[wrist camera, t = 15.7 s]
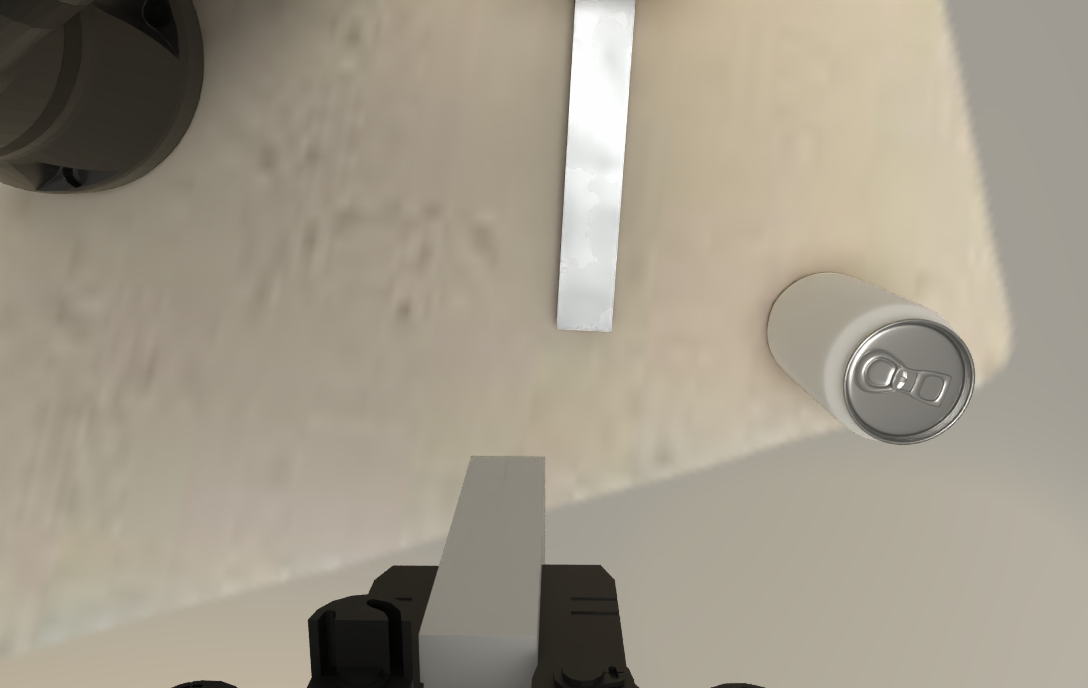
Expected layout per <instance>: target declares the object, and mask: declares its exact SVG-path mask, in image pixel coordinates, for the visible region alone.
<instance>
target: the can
mask: <svg viewBox="0 0 1088 688" xmlns="http://www.w3.org/2000/svg"><path fill="white" fill-rule="evenodd" d="M767 338H768V344H769V347H770V350H771V353H772V355H773V357H774V358H775V360H776V362H777V363H778V364H779V366H780V367H781V368H782V369H783V370H784V371H785V372H786V373H787V374H788V375H789V376H790V377H791V378H792V379H793V380H794V381H795V382H796V383H797V384H799V385H800V386H801V387H802V388H803V389H804V390H805V391H806V392H807V393H808V394H809V395H810V396H811V397H812V398H813V399H815V400H816V401H817V402H818V403H819V404H820V405H821V406H822V407H823V408H824V409H825V410H826V411H828V412H829V413H830V414H831V415H832V416H833V417H834V418H835V419H836V420H838V421H839V422H840V423H841V424H842V425H844V426H845V427H846V428H848V429H849V430H851V431H853V432H854V433H856V434H858V435H860V436H862V437H865V438H868V439H872V440H876V441H883V442H886V443H890V444H897V445H910V444H916V443H921V442H924V441H927V440H930V439H932V438H934V437H936V436H938V435H940V434H942V433H943V432H945V431H946V430H947V429H949V428H950V427H951V426H952V425H953V424H954V423H955V422H956V421H957V420H958V419H959V418H960V416H961V415H962V414H963V413H964V411H965V409H966V408H967V406H968V404H969V402H970V399H971V397H972V393H973V389H974V384H975V369H974V363H973V359H972V356H971V354H970V352H969V350H968V348H967V346H966V345H965V343H964V342H963V340H962V339H961V338H960V337H959V335H958V333H957V332H956V330H955V329H954V328H953V327H952V325H951V324H950V323H949V322H948V321H947V320H945V319H944V318H943V317H942V316H940V315H939V314H937V313H936V312H934V311H932V310H931V309H929V308H926V307H924V306H922V305H920V304H918V303H915V302H913V301H910V300H908V299H906V298H903V297H901V296H898V295H896V294H893V293H891V292H889V291H886V290H884V289H881V288H879V287H876V286H874V285H871V284H869V283H866V282H863V281H861V280H858V279H856V278H853V277H850V276H847V275H844V274H839V273H831V272H825V273H817V274H813V275H809V276H806V277H804V278H802V279H800V280H798V281H796V282H795V283H793V284H792V285H791V286H789V287H788V288H787V289H786V290H785V291H784V292H783V293H782V294H781V295H780V296H779V297H778V299H777V300H776V302H775V303H774V305H773V308H772V310H771V313H770V317H769V321H768V329H767Z"/></svg>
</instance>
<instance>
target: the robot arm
mask: <svg viewBox="0 0 1088 688" xmlns="http://www.w3.org/2000/svg"><path fill="white" fill-rule="evenodd" d="M202 78H203V46H202V38H201V32H200V28H199V23H198V19H197V16H196V12H195V9H194V7H193V4H192V1H191V0H0V182H2V183H4V184H7V185H10V186H13V187H16V188H20V189H24V190H29V191H35V192H41V193H50V194H70V193H85V192H96V191H102V190H107V189H112V188H115V187H118V186H121V185H124V184H126V183H129V182H131V181H133V180H135V179H137V178H139V177H141V176H142V175H144V174H146V173H147V172H149V171H150V170H152V169H153V168H154V167H156V166H157V165H158V164H159V163H160V162H161V161H163V160H164V159H165V158H166V157H167V156H168V155H169V153H170V152H171V151H172V150H173V149H174V148H175V146H176V145H177V144H178V142H179V141H180V139H181V138H182V136H183V135H184V133H185V131H186V130H187V128H188V126H189V124H190V122H191V120H192V117H193V115H194V112H195V109H196V106H197V103H198V100H199V95H200V91H201V85H202ZM308 627H309V643H310V658H311V673H312V678H311V680H310V682H309V684H308V687H307V688H639V687H638V686H636V684H635V683H634V679H633V677H632V675H631V673H630V670H629V669H628V668H627V667H626V660H625V653H624V645H623V638H622V630H621V623H620V616H619V609H618V602H617V593H616V586H615V580H614V579H613V578H612V577H611V576H610V575H609V574H608V573H607V572H606V570H605V569H604V568H603V567H602V566H601V565H545V457H515V456H471V460H470V463H469V467H468V470H467V473H466V477H465V480H464V483H463V487H462V490H461V494H460V497H459V500H458V504H457V507H456V510H455V514H454V517H453V521H452V524H451V527H450V531H449V534H448V537H447V541H446V544H445V547H444V551H443V554H442V558H441V561H440V564H439V566H392V567H391V568H389V569H388V570H387V571H385V572H384V573H383V574H382V575H380V576H379V577H378V578H377V579H376V580H374V582H373V585H372V587H371V589H370V591H369V594H367V595H355V596H349V597H346V598H343V599H339V600H335V601H332V602H330V603H328V604H327V605H325V606H323V607H321V608H319V609H318V610H317V611H316V612H315V613H314V614H313V615H312V616H311V617H310V618H309V619H308ZM173 688H237V687H236V686H233V685H230V684H227V683H225V682H222V681H204V680H201V681H193V682H191V683H190V682H188V683H184V684H180V685H177V686H175V687H173ZM712 688H764V687H760V686H756V685H752V684H746V683H729V684H722V685H718V686H715V687H712Z"/></svg>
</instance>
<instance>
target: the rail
mask: <svg viewBox="0 0 1088 688" xmlns="http://www.w3.org/2000/svg"><path fill="white" fill-rule="evenodd" d="M634 14H635V0H575V10H574V27H573V44H572V62H571V79H570V96H569V113H568V131H567V148H566V165H565V183H564V200H563V217H562V234H561V252H560V269H559V286H558V303H557V321H556V329H564V330H583V331H601V332H611V329H612V315H613V302H614V288H615V274H616V261H617V247H618V233H619V219H620V206H621V192H622V178H623V165H624V151H625V137H626V123H627V110H628V96H629V82H630V69H631V55H632V41H633V27H634Z"/></svg>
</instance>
